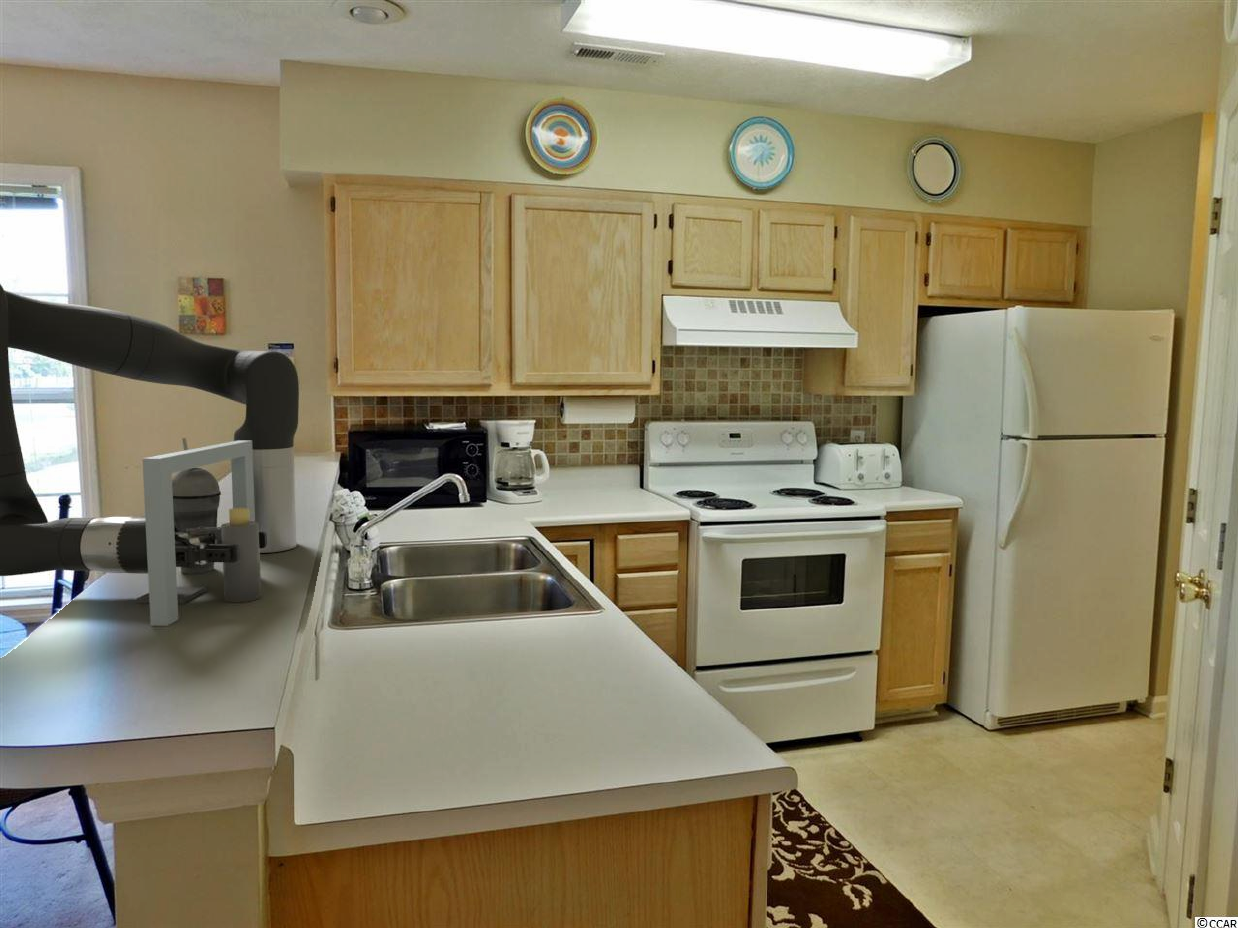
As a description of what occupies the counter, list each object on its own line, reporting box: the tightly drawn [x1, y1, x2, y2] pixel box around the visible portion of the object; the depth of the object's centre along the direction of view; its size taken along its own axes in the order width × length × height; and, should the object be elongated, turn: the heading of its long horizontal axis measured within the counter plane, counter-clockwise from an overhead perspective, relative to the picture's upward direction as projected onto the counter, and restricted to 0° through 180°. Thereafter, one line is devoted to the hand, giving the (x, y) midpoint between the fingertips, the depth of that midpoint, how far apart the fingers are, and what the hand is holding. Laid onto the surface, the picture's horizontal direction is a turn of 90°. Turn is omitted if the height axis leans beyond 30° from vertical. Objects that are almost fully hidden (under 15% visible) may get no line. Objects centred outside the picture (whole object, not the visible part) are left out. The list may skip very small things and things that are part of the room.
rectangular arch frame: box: [142, 440, 255, 627], centre depth 113 cm, size 25×2×20 cm, turn 0°
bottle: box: [220, 507, 262, 603], centre depth 113 cm, size 4×4×12 cm
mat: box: [136, 586, 206, 604], centre depth 114 cm, size 6×6×1 cm
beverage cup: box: [172, 437, 222, 575], centre depth 127 cm, size 7×7×20 cm
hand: (252, 546), depth 113 cm, fingers open, 8 cm apart
